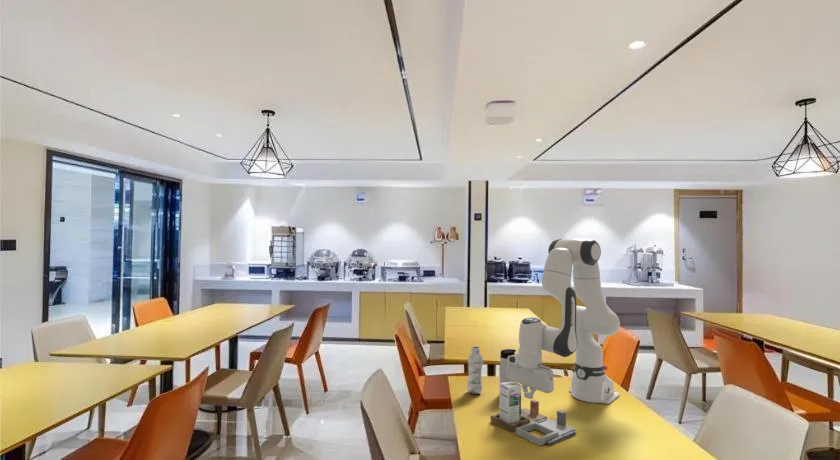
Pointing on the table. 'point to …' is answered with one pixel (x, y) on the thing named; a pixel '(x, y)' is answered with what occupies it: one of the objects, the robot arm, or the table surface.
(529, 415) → the brown flat tabbed frame
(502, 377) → the travel mug
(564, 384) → the table surface
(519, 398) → the syrup box
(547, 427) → the grey sliding lid frame
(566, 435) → the lane rails
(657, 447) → the table surface
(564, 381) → the table surface
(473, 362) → the plastic bottle
